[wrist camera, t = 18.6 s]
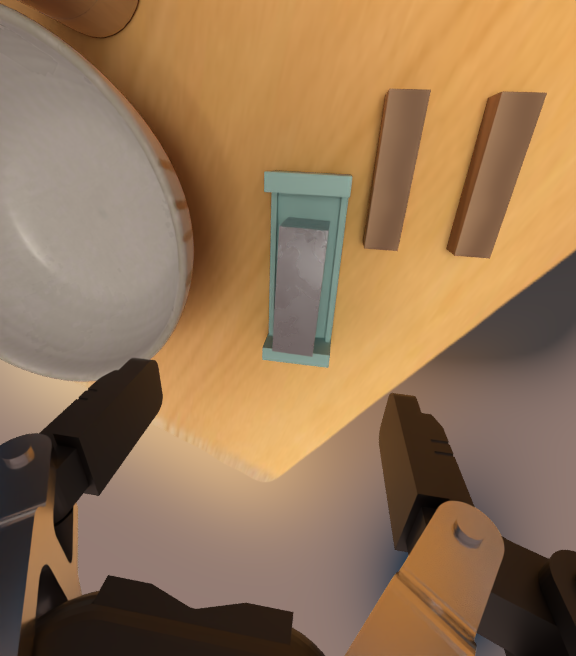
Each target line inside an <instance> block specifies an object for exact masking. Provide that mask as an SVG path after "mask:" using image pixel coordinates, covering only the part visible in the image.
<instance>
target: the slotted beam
mask: <svg viewBox="0 0 576 656" xmlns="http://www.w3.org/2000/svg"><path fill="white" fill-rule="evenodd" d="M430 92H431V90H418V89H389V90H388V92H387V94H386V95H385V102H384V108H383V115H382V121H381V128H380V134H379V141H378V147H377V154H376V160H375V167H374V173H373V180H372V186H371V193H370V199H369V206H368V212H367V219H366V225H365V232H364V238H363V245H364V248H367V249H379V250H392V251H398V246H399V242H400V237H401V232H402V227H403V222H404V217H405V213H406V208H407V203H408V198H409V193H410V188H411V184H412V179H413V174H414V169H415V164H416V159H417V155H418V150H419V145H420V140H421V135H422V130H423V126H424V121H425V116H426V111H427V106H428V101H429V96H430ZM546 94H547V93H535V92H501V93H498V94H496V95H494V96H492V97H489V98H488V101H487V105H486V108H485V112H484V116H483V119H482V123H481V126H480V130H479V134H478V137H477V141H476V144H475V148H474V152H473V155H472V159H471V162H470V166H469V170H468V173H467V177H466V181H465V184H464V188H463V191H462V195H461V199H460V202H459V206H458V209H457V213H456V217H455V220H454V224H453V227H452V231H451V235H450V238H449V242H448V245H447V250H448V251H450V252H451V253H452V254H453V255H454V256H466V257H479V258H490V256H491V253H492V251H493V248H494V245H495V242H496V239H497V236H498V233H499V230H500V227H501V224H502V222H503V219H504V216H505V213H506V210H507V207H508V204H509V201H510V198H511V196H512V193H513V190H514V187H515V184H516V181H517V178H518V175H519V172H520V169H521V167H522V164H523V161H524V158H525V155H526V152H527V149H528V146H529V143H530V141H531V138H532V135H533V132H534V129H535V126H536V123H537V120H538V117H539V114H540V112H541V109H542V106H543V103H544V100H545V97H546Z"/></svg>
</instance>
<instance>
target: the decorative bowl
mask: <svg viewBox="0 0 576 656" xmlns="http://www.w3.org/2000/svg"><path fill="white" fill-rule="evenodd" d="M193 262H194V243H193V231H192V224H191V219H190V214H189V209H188V206H187V202H186V199H185V195H184V193H183V190H182V187H181V184H180V182H179V179H178V177H177V175H176V172H175V170H174V168H173V166H172V164H171V162H170V160H169V158H168V156H167V155H166V153H165V151H164V150H163V148H162V146H161V144H160V143H159V141H158V140H157V138H156V137H155V135H154V134H153V132H152V131H151V129H150V128H149V126H148V125H147V124H146V122H145V121H144V120H143V118H142V117H141V116H140V114H139V113H138V112H137V111H136V109H135V108H134V107H133V106H132V105H131V104H130V102H129V101H128V100H127V99H126V98H125V97H124V96H123V94H122V93H121V92H120V91H119V90H118V89H117V88H116V87H115V86H114V85H113V84H112V83H111V82H110V81H109V80H108V79H107V78H106V77H105V76H104V75H103V74H102V73H101V72H100V71H99V70H98V69H97V68H96V67H94V66H93V65H92V64H91V63H90V62H89V61H88V60H87V59H86V58H84V57H83V56H82V55H81V54H80V53H79V52H77V51H76V50H75V49H73V48H72V47H71V46H70V45H68V44H67V43H66V42H64V41H63V40H62V39H61V38H59V37H58V36H56V35H55V34H53V33H52V32H50V31H49V30H47V29H46V28H44V27H43V26H42V25H40V24H39V23H37V22H35V21H33V20H32V19H30V18H28V17H26V16H25V15H23V14H21V13H19V12H17V11H16V10H13V9H11V8H9V7H7V6H5V5H3V4H0V359H1V360H3V361H5V362H7V363H9V364H11V365H13V366H16V367H18V368H21V369H23V370H26V371H29V372H32V373H35V374H38V375H42V376H46V377H50V378H54V379H61V380H67V381H85V382H86V381H97V380H98V379H99V378H101V377H102V376H104V375H106V374H108V373H110V372H112V371H114V370H119V369H120V368H121V367H122V366H123V365H124V364H125V363H126V362H127V361H128V360H130V359H131V358H141V359H149V360H150V359H151V358H152V357H154V356H155V355H156V354H157V353H158V352H159V350H160V349H161V348H162V347H163V346H164V345H165V343H166V342H167V341H168V339H169V338H170V336H171V334H172V333H173V331H174V329H175V328H176V326H177V324H178V321H179V319H180V317H181V315H182V312H183V309H184V307H185V304H186V301H187V297H188V293H189V289H190V285H191V279H192V273H193Z"/></svg>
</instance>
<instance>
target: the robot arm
mask: <svg viewBox="0 0 576 656" xmlns="http://www.w3.org/2000/svg"><path fill="white" fill-rule="evenodd" d="M18 1H20V2H22V3H24V4H26V5H28V6H29V7H31V8H33V9H35V10H37V11H39V12H41V13H43V14H45V15H47V16H49V17H51V18H53V19H55V20H57V21H59V22H61V23H63V24H65V25H67V26H69V27H70V28H72V29H74V30H76V31H78V32H80V33H82V34H85V35H89V36H92V37H107V36H110V35H114V34H115V33H117V32H118V31H120V30H121V29H123V28H124V26H125V25H126V24H127V23H128V22H129V20H130V19H131V17H132V15H133V13H134V11H135V9H136V7H137V3H138V0H18ZM162 399H163V394H162V388H161V381H160V375H159V369H158V364H157V362H156V361H155V360H149V359H141V358H131V359H130V360H128V361H127V362H126V363H125V364H124V365H123V366H122V367H121V368H120V369H119V370H114V371H112V372H110V373H108V374H106V375H104V376H102V377H101V378H99V379H98V380H97V381H96V382H95V383H94V384H93V385H91V386H90V387H89V388H88V391H85V392H84V393H83V394H82V395H81V396H80V397H79V399H78V400H77V399H76V400H75V401H74V402H73V403H72V404H71V405H70V406H69V407H67V408H66V409H65V410H64V411H63V412H62V413H61V414H60V415H59V416H58V417H57V418H55V419H54V420H53V421H52V422H51V423H50V424H49V425H48V426H47V427H46V428H45V429H43V430H42V431H41V432H40V433H39V434H38V433H35V434H26V435H22V436H19V437H16V438H13V439H11V440H9V441H7V442H5V443H3V444H2V445H0V656H325V655H324V654H323V652H322V651H321V650H320V649H319V648H318V647H317V646H316V645H315V644H314V643H313V642H312V641H311V640H309V639H308V638H307V637H306V636H305V635H303V634H302V633H300V632H299V631H297V630H295V629H294V628H292V621H293V612H289V611H284V610H280V609H274V608H270V607H264V606H260V605H255V604H249V603H241V604H233V605H225V606H216V607H208V608H200V609H194V608H190V607H188V606H187V605H185V604H183V603H182V602H180V601H178V600H177V599H175V598H174V597H172V596H170V595H169V594H167V593H166V592H164V591H162V590H161V589H159V588H158V587H156V586H154V585H153V584H150V583H144V582H140V581H134V580H130V579H125V578H120V577H115V576H109V575H108V576H107V578H106V580H105V582H104V583H103V585H102V587H101V589H100V591H96V592H92V593H88V594H84V595H82V592H81V587H80V582H79V577H78V506H77V503H76V502H77V501H78V500H79V498H80V497H81V496H82V494H83V493H85V494H91V495H97V496H99V495H100V494H101V492H102V491H103V490H104V488H105V487H106V485H107V484H108V482H109V481H110V479H111V478H112V477H113V475H114V474H115V473H116V471H117V470H118V468H119V467H120V466H121V464H122V463H123V461H124V460H125V458H126V457H127V456H128V454H129V453H130V451H131V450H132V449H133V447H134V446H135V444H136V443H137V441H138V440H139V439H140V437H141V436H142V434H143V433H144V432H145V430H146V429H147V427H148V426H149V425H150V423H151V422H152V420H153V419H154V418H155V416H156V415H157V413H158V412H159V410H160V408H161V405H162ZM379 447H380V454H381V461H382V467H383V474H384V481H385V488H386V494H387V501H388V508H389V514H390V521H391V528H392V534H393V541H394V548H395V550H398V551H404V552H408V555H409V556H408V558H407V560H406V561H405V563H404V565H403V566H402V568H401V569H400V571H399V572H397V573H396V574H395V575H394V577H393V579H392V580H391V581H390V583H389V584H388V586H387V588H386V589H385V591H384V593H383V594H382V596H381V597H380V599H379V601H378V602H377V604H376V606H375V607H374V609H373V610H372V612H371V614H370V615H369V617H368V619H367V620H366V622H365V623H364V625H363V627H362V628H361V630H360V632H359V633H358V635H357V636H356V638H355V640H354V641H353V643H352V645H351V646H350V648H349V649H348V651H347V653H346V654H345V656H475V653H476V643H475V642H474V639H475V635H476V633H478V634H480V635H481V636H483V637H485V638H487V639H489V640H490V641H492V642H494V643H495V644H497V645H499V646H500V647H502V648H504V650H505V653H506V656H576V552H574V551H570V550H560V551H557V552H555V553H554V554H553V555H552V556H551V557H550V558H549V559H548V558H546V557H543V556H541V555H539V554H537V553H535V552H533V551H530V550H528V549H526V548H524V547H522V546H519V545H517V544H515V543H513V542H511V541H509V540H507V539H506V538H504V537H502V536H501V534H500V532H499V531H498V529H497V528H496V526H495V525H494V524H493V522H492V521H491V520H490V519H489V518H488V517H487V516H486V515H485V514H484V513H482V512H481V511H479V510H478V509H476V508H475V506H474V505H473V502H472V499H471V497H470V494H469V492H468V489H467V487H466V485H465V482H464V479H463V477H462V474H461V472H460V470H459V467H458V464H457V462H456V459H455V457H453V452H452V449H451V447H450V445H449V444H448V439H447V437H446V434H445V432H444V429H443V427H442V426H441V425H440V424H439V423H438V422H437V420H436V419H435V418H434V417H433V416H432V415H431V414H424V413H421V411H420V407H419V404H418V401H417V399H416V397H415V396H411V395H403V394H396V393H391V394H390V395H389V398H388V401H387V405H386V409H385V412H384V416H383V419H382V423H381V427H380V433H379Z"/></svg>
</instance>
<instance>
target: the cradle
mask: <svg viewBox="0 0 576 656" xmlns="http://www.w3.org/2000/svg"><path fill="white" fill-rule="evenodd" d="M351 185H352V175H348V174H330V173H312V172H294V171H276V170H275V171H265V172H264V192H272V200H271V249H270V297H269V334H268V336H267V338H266V341H265V343H264V345H263V355H262V360H269V361H278V362H286V363H294V364H302V365H310V366H318V367H327V368H328V366H329V358H330V344H331V334H332V326H333V318H334V310H335V302H336V294H337V286H338V278H339V270H340V262H341V254H342V246H343V238H344V230H345V222H346V214H347V206H348V198H349V197H350V193H351ZM288 217H294V218H304V219H314V220H324V221H330V228H329V236H328V243H327V251H326V259H325V267H324V274H323V282H322V290H321V298H320V306H319V313H318V321H317V329H316V336H315V343H314V349H313V356H312V357H309V356H302V355H295V354H288V353H281V352H274V351H272V345H273V327H274V309H275V292H276V274H277V256H278V238H279V226H280V225H281V224H282V223H283V222H284V221H285V220H286V219H287V218H288Z"/></svg>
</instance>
